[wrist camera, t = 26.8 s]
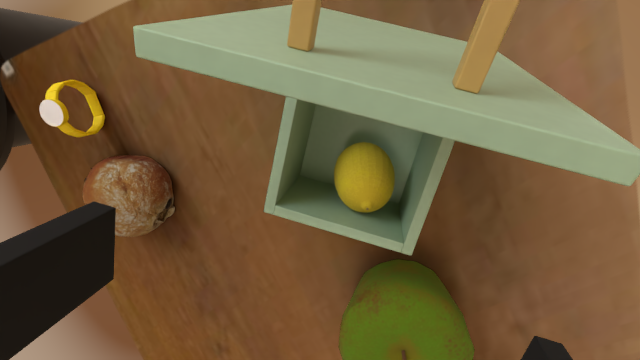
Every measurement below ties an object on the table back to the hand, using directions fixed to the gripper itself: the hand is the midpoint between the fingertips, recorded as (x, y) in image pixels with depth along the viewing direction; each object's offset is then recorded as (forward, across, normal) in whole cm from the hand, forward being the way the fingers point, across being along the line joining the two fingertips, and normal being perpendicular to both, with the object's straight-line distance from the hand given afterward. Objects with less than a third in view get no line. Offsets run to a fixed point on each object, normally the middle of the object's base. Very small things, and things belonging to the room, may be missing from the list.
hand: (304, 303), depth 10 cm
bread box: (+26, 0, +2) cm, 27 cm away
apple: (+27, +10, -16) cm, 33 cm away
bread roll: (+27, -24, -13) cm, 39 cm away
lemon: (+25, 0, 0) cm, 25 cm away
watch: (+27, -30, -4) cm, 41 cm away
